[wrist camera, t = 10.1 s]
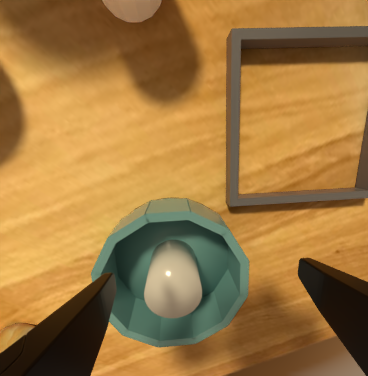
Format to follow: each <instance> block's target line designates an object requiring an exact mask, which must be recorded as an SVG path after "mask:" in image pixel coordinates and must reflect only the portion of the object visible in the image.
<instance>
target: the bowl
mask: <svg viewBox="0 0 368 376" xmlns="http://www.w3.org/2000/svg"><path fill="white" fill-rule="evenodd" d="M167 240H181V241H184V242H185V243H187V244H188V245H190V246H191V248H192V249H193V251H194V253H195V257H196V262H197V267H198V272H199V277H200V282H201V287H202V298H201V301H200V303H199V305H198V306H197V308H196V309H195V310H194V311H192V312H191V313H189V314H188V315H186V316H183V317H179V318H165V317H161V316H159V315H157V314H155V313H154V312H152V311H151V310H150V309H149V307H148V306H147V304H146V302H145V298H144V290H145V286H146V281H147V276H148V271H149V266H150V261H151V256H152V253H153V251H154V249H155V248H156V247H157V246H158V245H159V244H160V243H162V242H164V241H167ZM104 273H114V276H115V282H116V295H115V299H114V303H113V307H112V311H111V315H110V319H109V322H110V323H111V324H112V325H113V326H114V327H115V328H116V329H117V330H118V331H119V332H120V333H121V334H122V335H123V336H126V337H129V338H131V339H134V340H137V341H140V342H143V343H146V344H149V345H152V346H155V347H158V346H159V347H169V346H179V345H189V344H195V343H196V344H197V343H198V342H200V341H202V340H204V339H205V338H207V337H209V336H211V335H212V334H214V333H216V332H218V331H220V330H221V329H223V328H225V327H227V326H228V325H229V324H230V322H231V321H232V319H233V318H234V316H235V315H236V313H237V312H238V310H239V309H240V307H241V306H242V304H243V303H244V301H245V300H246V298H247V297H248V280H249V260H248V258H247V257H246V255H245V254H244V252H243V250H242V249H241V247H240V246H239V244H238V243H237V241H236V239H235V238H234V236H233V235H232V233H231V232H230V230H229V228H228V227H227V226H226V224H225V223H224V221H223V220H222V218H221V217H220V215H219V214H218V213H216V212H214V211H212V210H211V209H209V208H208V207H206V206H204V205H203V204H200V203H198V202H195V201H192V200H190V199H187V198H163V199H158V200H151V201H149V202H147V203H146V204H143V205H142V206H140V207H138V208H136V209H135V210H134V211H132V212H131V213H130V214H129V215H127V216H126V217H124V218H123V219H121V220H120V222H119V223H118V224H117V226H116V227H115V228H114V230H113V231H112V232H111V234H110V235H109V237H108V238H107V240H106V242H105V244H104V246H103V249H102V251H101V253H100V255H99V257H98V259H97V261H96V263H95V266H94V268H93V270H92V272H91V276H92V282H94V281H95V280H96V279H97V278H99V277H100V276H101V275H103V274H104Z"/></svg>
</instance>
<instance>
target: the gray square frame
mask: <svg viewBox="0 0 368 376" xmlns="http://www.w3.org/2000/svg"><path fill="white" fill-rule="evenodd" d="M338 46H368V26H350V27H294V28H238V29H231V31H230V33H229V35H228V37H227V73H226V203H227V204H228V205H229V206H230V207H232V206H248V205H264V204H280V203H296V202H312V201H328V200H344V199H359V198H368V113H367V119H366V125H365V131H364V137H363V143H362V149H361V155H360V161H359V167H358V174H357V180H356V186H355V188H340V189H323V190H306V191H290V192H273V193H256V194H239V195H238V166H239V115H240V65H241V49H251V48H294V47H338Z"/></svg>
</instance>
